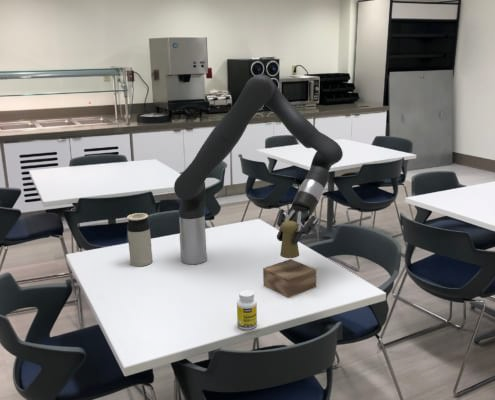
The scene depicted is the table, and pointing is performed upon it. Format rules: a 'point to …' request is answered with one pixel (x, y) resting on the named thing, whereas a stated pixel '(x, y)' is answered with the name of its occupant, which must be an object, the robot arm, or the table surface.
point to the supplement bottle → (246, 310)
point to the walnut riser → (289, 277)
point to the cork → (288, 240)
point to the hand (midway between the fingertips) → (285, 241)
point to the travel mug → (139, 239)
